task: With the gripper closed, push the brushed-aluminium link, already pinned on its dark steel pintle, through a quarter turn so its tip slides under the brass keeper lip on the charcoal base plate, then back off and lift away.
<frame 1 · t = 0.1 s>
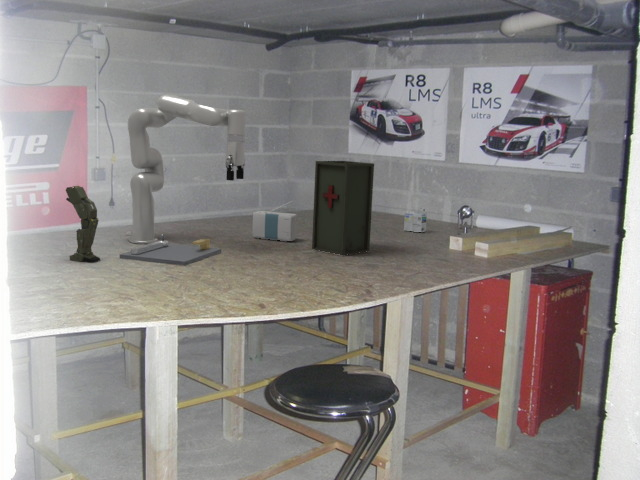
hand: (235, 179, 290), 31 cm above the table, tool pointing down, fingers open, 9 cm apart
mechanical leg: (83, 260, 264), on the table
keeper: (199, 253, 286), resting on base plate
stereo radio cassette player: (274, 240, 330), on the table
light bulb box: (414, 232, 375), on the table
base plate: (172, 255, 281), on the table
first aid box: (340, 251, 308), on the table
link: (150, 243, 282), point 4 cm above the table, hinge at -90.0°
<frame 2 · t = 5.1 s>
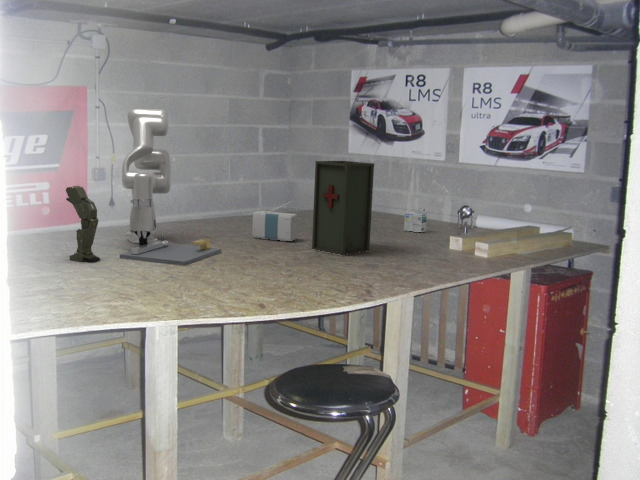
hand: (143, 247, 282), 2 cm above the table, tool pointing down, fingers closed
link: (150, 243, 282), point 4 cm above the table, hinge at -89.8°, touching gripper
everything else where it was.
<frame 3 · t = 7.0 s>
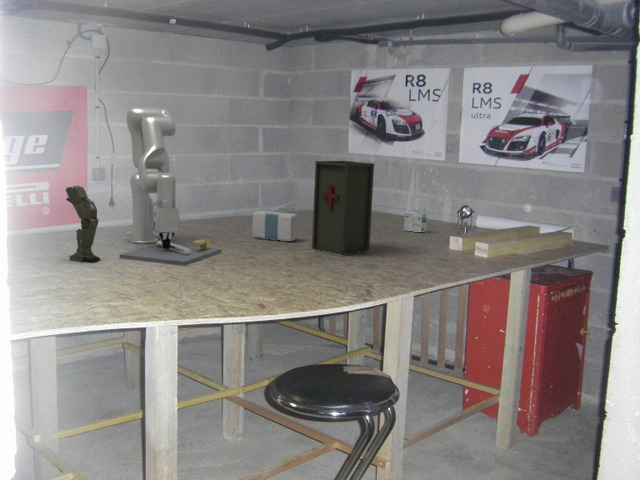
hand: (166, 248, 282), 2 cm above the table, tool pointing down, fingers closed
link: (173, 243, 283), point 4 cm above the table, hinge at -31.7°, touching gripper
everything else where it was.
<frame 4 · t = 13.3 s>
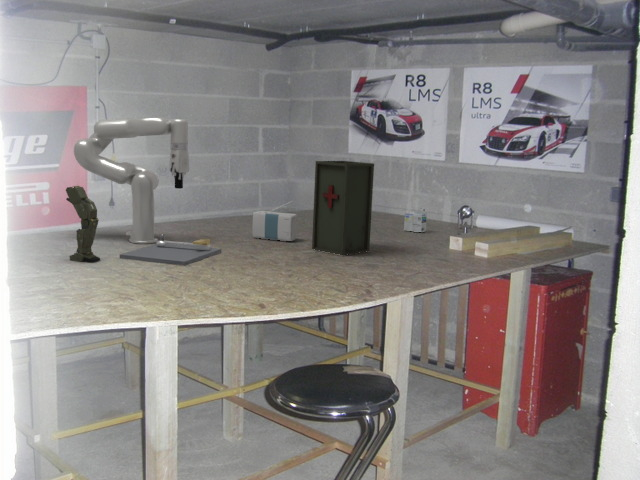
hand: (178, 188, 305), 25 cm above the table, tool pointing down, fingers closed
link: (183, 241, 288), point 4 cm above the table, hinge at 4.4°
everything else where it was.
at the end: link at +4° (first picture: -90°) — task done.
